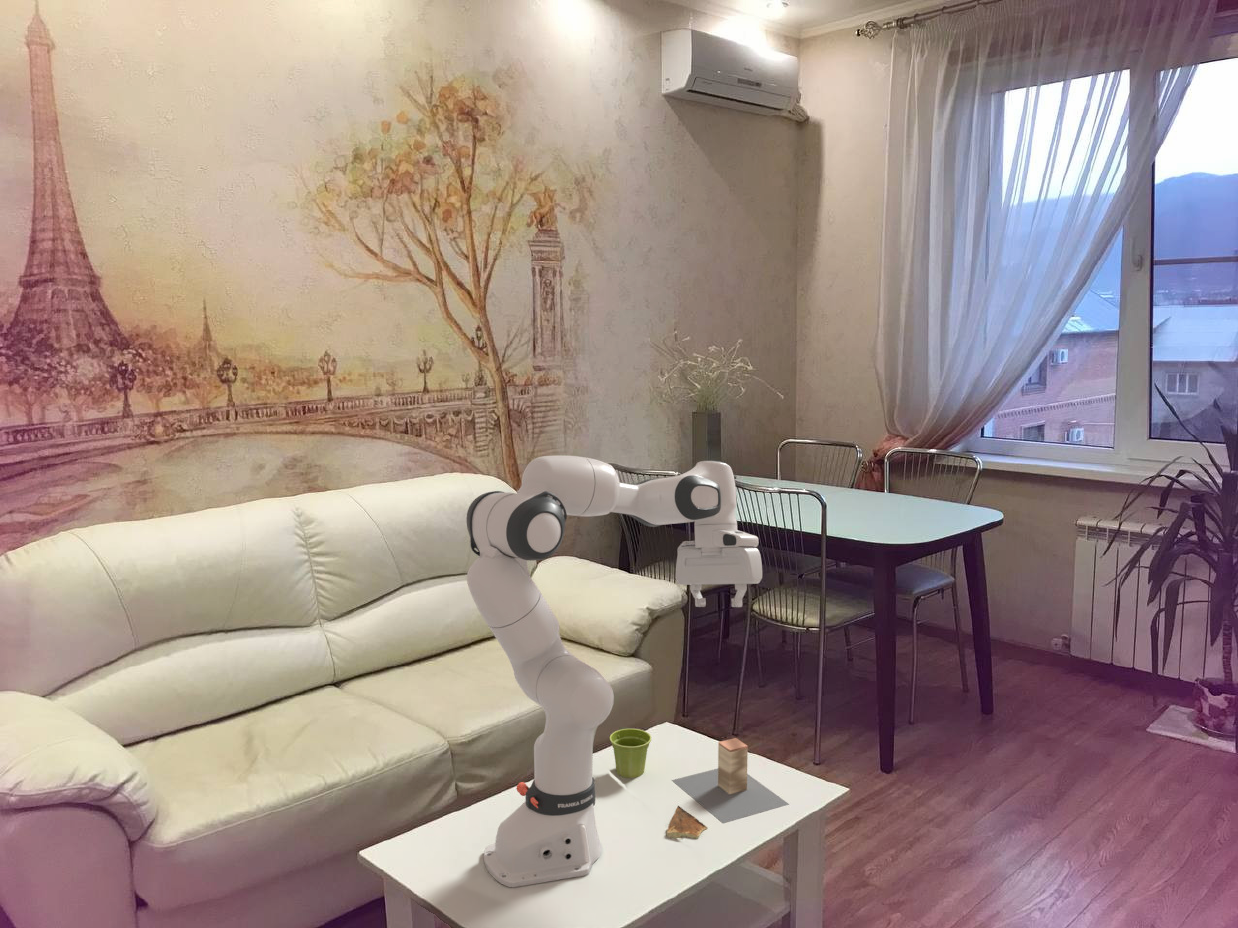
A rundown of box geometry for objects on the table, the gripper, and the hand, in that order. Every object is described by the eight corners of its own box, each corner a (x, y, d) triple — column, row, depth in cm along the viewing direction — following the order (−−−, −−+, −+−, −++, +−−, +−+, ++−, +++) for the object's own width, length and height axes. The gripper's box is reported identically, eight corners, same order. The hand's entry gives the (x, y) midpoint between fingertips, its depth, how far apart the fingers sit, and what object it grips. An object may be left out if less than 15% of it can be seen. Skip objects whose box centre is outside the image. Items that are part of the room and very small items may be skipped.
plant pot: (659, 770, 214) (659, 734, 213) (637, 787, 206) (637, 750, 205) (624, 760, 219) (623, 725, 218) (601, 776, 211) (601, 740, 210)
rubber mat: (723, 825, 190) (722, 823, 190) (671, 782, 208) (671, 780, 208) (789, 806, 197) (789, 803, 197) (734, 766, 215) (734, 764, 215)
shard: (677, 811, 197) (678, 803, 196) (714, 817, 194) (714, 809, 194) (665, 838, 186) (665, 830, 186) (703, 844, 184) (703, 836, 184)
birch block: (729, 794, 202) (730, 750, 200) (718, 785, 205) (718, 741, 204) (746, 789, 204) (747, 745, 202) (735, 780, 208) (735, 737, 206)
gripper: (668, 541, 200) (670, 607, 198) (746, 536, 186) (749, 607, 184) (687, 541, 204) (689, 606, 203) (765, 537, 190) (768, 606, 189)
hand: (718, 606), depth 193 cm, fingers open, 8 cm apart
